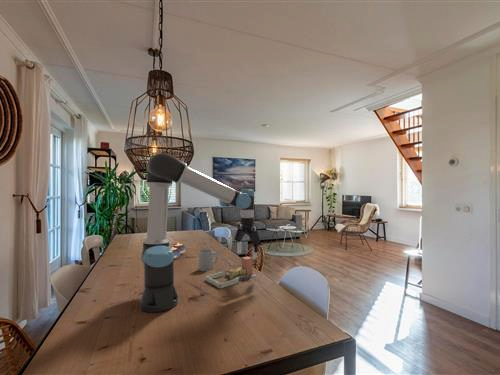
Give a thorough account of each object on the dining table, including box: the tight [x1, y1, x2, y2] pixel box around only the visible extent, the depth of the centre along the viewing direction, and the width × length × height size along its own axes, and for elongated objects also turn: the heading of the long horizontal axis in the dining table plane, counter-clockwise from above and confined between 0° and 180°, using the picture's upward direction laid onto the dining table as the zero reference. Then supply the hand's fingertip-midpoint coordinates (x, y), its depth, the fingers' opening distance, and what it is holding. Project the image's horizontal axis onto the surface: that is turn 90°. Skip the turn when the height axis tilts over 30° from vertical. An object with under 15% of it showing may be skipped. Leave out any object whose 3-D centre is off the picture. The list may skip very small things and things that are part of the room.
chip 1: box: [228, 268, 239, 280], centre depth 134 cm, size 4×4×4 cm
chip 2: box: [235, 266, 246, 276], centre depth 136 cm, size 4×4×4 cm
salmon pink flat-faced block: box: [241, 256, 253, 275], centre depth 139 cm, size 4×4×9 cm
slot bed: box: [224, 272, 258, 282], centre depth 137 cm, size 14×10×3 cm
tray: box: [204, 271, 240, 289], centre depth 129 cm, size 11×14×3 cm
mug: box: [198, 248, 219, 272], centre depth 154 cm, size 12×8×11 cm
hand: (246, 255), depth 139 cm, fingers open, 13 cm apart
